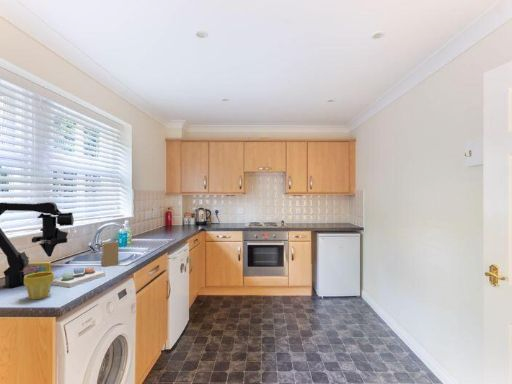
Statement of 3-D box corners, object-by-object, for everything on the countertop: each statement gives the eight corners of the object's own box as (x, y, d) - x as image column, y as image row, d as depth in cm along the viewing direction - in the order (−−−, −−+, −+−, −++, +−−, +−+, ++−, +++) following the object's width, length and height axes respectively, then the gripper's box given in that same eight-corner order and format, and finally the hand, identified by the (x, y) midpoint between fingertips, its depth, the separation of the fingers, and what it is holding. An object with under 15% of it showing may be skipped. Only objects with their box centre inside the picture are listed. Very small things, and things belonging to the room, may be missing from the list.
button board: (69, 287, 132) (69, 282, 132) (49, 284, 137) (49, 279, 137) (105, 275, 151) (105, 271, 151) (86, 273, 155) (86, 269, 155)
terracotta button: (88, 273, 146) (88, 269, 146) (82, 272, 148) (82, 268, 148) (95, 271, 151) (95, 267, 151) (90, 270, 152) (90, 266, 152)
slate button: (77, 274, 141) (77, 270, 141) (71, 273, 142) (71, 269, 142) (85, 271, 145) (85, 268, 145) (79, 271, 146) (79, 267, 146)
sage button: (66, 280, 135) (66, 276, 135) (60, 279, 137) (60, 275, 137) (75, 277, 139) (74, 273, 139) (68, 276, 141) (68, 272, 141)
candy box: (16, 278, 146) (16, 263, 146) (20, 277, 149) (19, 262, 149) (49, 277, 148) (49, 262, 148) (51, 276, 150) (51, 261, 150)
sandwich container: (115, 260, 186) (114, 238, 186) (118, 265, 174) (118, 241, 174) (100, 262, 181) (100, 239, 181) (103, 267, 169) (103, 243, 169)
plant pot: (50, 291, 127) (50, 270, 127) (56, 296, 121) (56, 274, 121) (21, 297, 119) (21, 275, 119) (26, 303, 113) (26, 279, 113)
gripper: (77, 225, 146) (77, 254, 146) (53, 224, 152) (53, 252, 152) (55, 227, 135) (55, 259, 135) (30, 226, 142) (30, 256, 141)
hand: (49, 256), depth 141 cm, fingers closed
